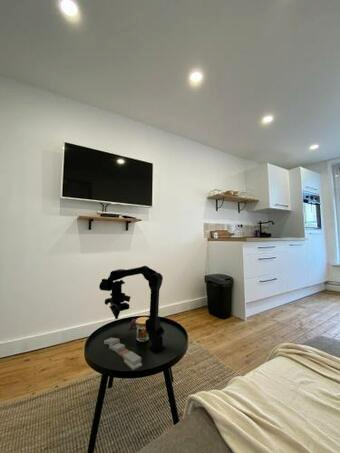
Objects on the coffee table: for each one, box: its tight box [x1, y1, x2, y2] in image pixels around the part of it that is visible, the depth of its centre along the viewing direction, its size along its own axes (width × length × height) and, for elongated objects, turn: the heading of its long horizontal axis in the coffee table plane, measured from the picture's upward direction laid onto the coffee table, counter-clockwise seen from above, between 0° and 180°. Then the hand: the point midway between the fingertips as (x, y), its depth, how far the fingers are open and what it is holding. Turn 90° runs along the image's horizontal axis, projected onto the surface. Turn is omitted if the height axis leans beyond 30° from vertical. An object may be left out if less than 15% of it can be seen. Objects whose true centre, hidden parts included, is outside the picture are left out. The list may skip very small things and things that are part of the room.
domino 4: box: [122, 350, 142, 366], centre depth 98 cm, size 2×5×8 cm
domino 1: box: [103, 337, 120, 346], centre depth 113 cm, size 2×5×8 cm
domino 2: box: [108, 342, 126, 353], centre depth 108 cm, size 2×5×8 cm
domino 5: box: [123, 359, 143, 371], centre depth 96 cm, size 2×5×8 cm
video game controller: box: [127, 318, 138, 331], centre depth 132 cm, size 10×5×7 cm, turn 75°
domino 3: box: [115, 348, 131, 358], centre depth 105 cm, size 2×5×8 cm
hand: (116, 318), depth 119 cm, fingers closed
